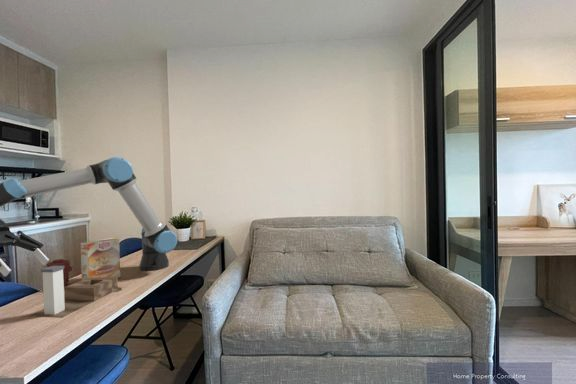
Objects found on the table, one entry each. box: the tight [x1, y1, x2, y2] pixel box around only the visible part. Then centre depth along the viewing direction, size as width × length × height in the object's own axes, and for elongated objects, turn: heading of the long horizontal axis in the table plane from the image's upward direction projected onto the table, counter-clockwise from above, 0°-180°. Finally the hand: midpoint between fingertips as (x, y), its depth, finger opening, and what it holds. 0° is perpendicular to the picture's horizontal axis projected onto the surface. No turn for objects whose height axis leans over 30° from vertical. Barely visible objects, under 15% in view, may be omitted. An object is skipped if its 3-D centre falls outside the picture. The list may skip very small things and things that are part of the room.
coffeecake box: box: [80, 237, 121, 281], centre depth 143 cm, size 15×7×20 cm, turn 150°
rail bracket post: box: [40, 266, 65, 315], centre depth 104 cm, size 5×5×16 cm
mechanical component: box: [46, 258, 73, 287], centre depth 134 cm, size 12×10×10 cm
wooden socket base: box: [26, 277, 123, 319], centre depth 114 cm, size 29×14×6 cm, turn 173°
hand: (28, 267), depth 104 cm, fingers open, 13 cm apart
